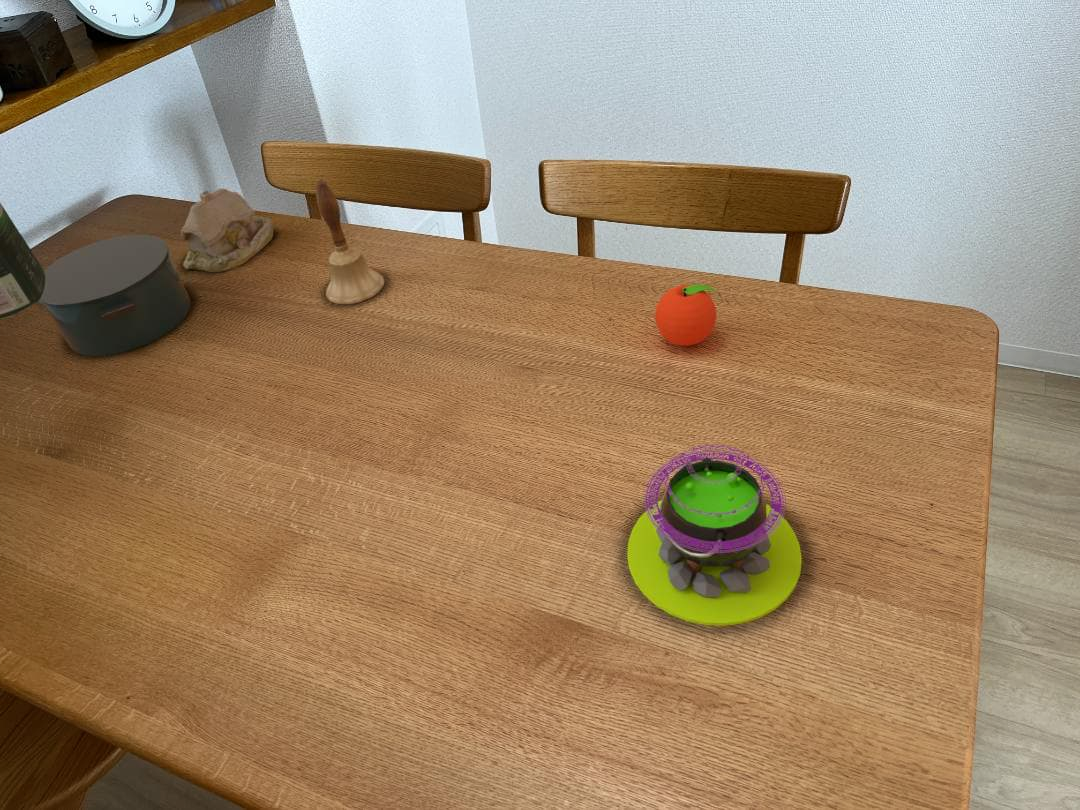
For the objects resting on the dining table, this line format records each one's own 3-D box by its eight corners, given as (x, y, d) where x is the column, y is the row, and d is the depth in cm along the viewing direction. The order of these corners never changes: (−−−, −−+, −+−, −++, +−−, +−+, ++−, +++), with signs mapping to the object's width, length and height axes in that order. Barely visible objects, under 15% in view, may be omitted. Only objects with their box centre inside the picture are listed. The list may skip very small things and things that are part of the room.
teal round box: (73, 380, 105) (38, 326, 99) (59, 311, 119) (28, 260, 113) (206, 328, 110) (180, 274, 105) (178, 268, 125) (154, 218, 119)
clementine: (707, 314, 98) (707, 263, 93) (735, 344, 93) (737, 292, 88) (646, 332, 97) (643, 282, 92) (671, 364, 92) (670, 312, 87)
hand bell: (314, 296, 113) (275, 191, 103) (355, 267, 118) (322, 164, 107) (355, 310, 109) (319, 202, 98) (396, 279, 113) (366, 173, 103)
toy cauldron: (623, 495, 78) (615, 409, 70) (783, 484, 76) (791, 395, 69) (631, 630, 66) (623, 544, 59) (819, 621, 65) (835, 532, 57)
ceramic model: (218, 280, 120) (191, 219, 114) (172, 265, 125) (143, 207, 119) (287, 235, 128) (265, 176, 122) (241, 223, 134) (218, 166, 127)
